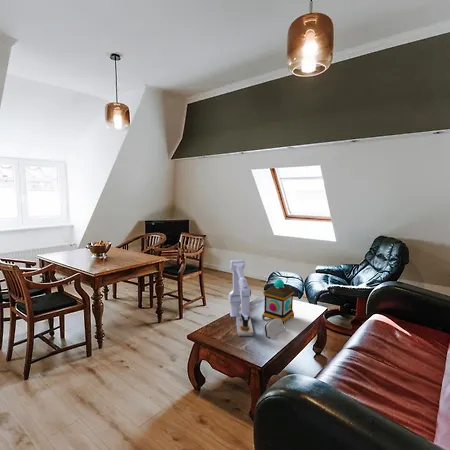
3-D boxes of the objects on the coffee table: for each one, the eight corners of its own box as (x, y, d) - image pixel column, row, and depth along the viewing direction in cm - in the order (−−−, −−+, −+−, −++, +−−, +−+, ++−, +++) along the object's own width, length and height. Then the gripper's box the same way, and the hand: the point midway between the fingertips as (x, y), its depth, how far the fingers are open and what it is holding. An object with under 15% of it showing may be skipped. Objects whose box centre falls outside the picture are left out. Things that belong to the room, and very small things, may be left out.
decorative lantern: (284, 327, 204) (285, 286, 200) (259, 319, 216) (260, 280, 212) (296, 317, 220) (298, 278, 216) (272, 310, 232) (273, 273, 227)
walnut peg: (242, 328, 200) (242, 317, 199) (247, 328, 200) (247, 317, 199) (242, 331, 197) (242, 319, 196) (248, 331, 197) (248, 319, 196)
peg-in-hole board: (236, 320, 216) (236, 316, 215) (249, 319, 216) (249, 316, 215) (238, 335, 194) (238, 332, 193) (253, 335, 194) (253, 331, 194)
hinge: (270, 339, 189) (266, 323, 190) (265, 339, 193) (261, 323, 194) (286, 330, 200) (283, 315, 201) (281, 330, 204) (277, 315, 205)
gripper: (238, 301, 203) (238, 319, 205) (239, 310, 189) (239, 330, 191) (248, 301, 203) (248, 319, 205) (251, 310, 189) (250, 330, 191)
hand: (245, 324), depth 198 cm, fingers closed on walnut peg, 3 cm apart
